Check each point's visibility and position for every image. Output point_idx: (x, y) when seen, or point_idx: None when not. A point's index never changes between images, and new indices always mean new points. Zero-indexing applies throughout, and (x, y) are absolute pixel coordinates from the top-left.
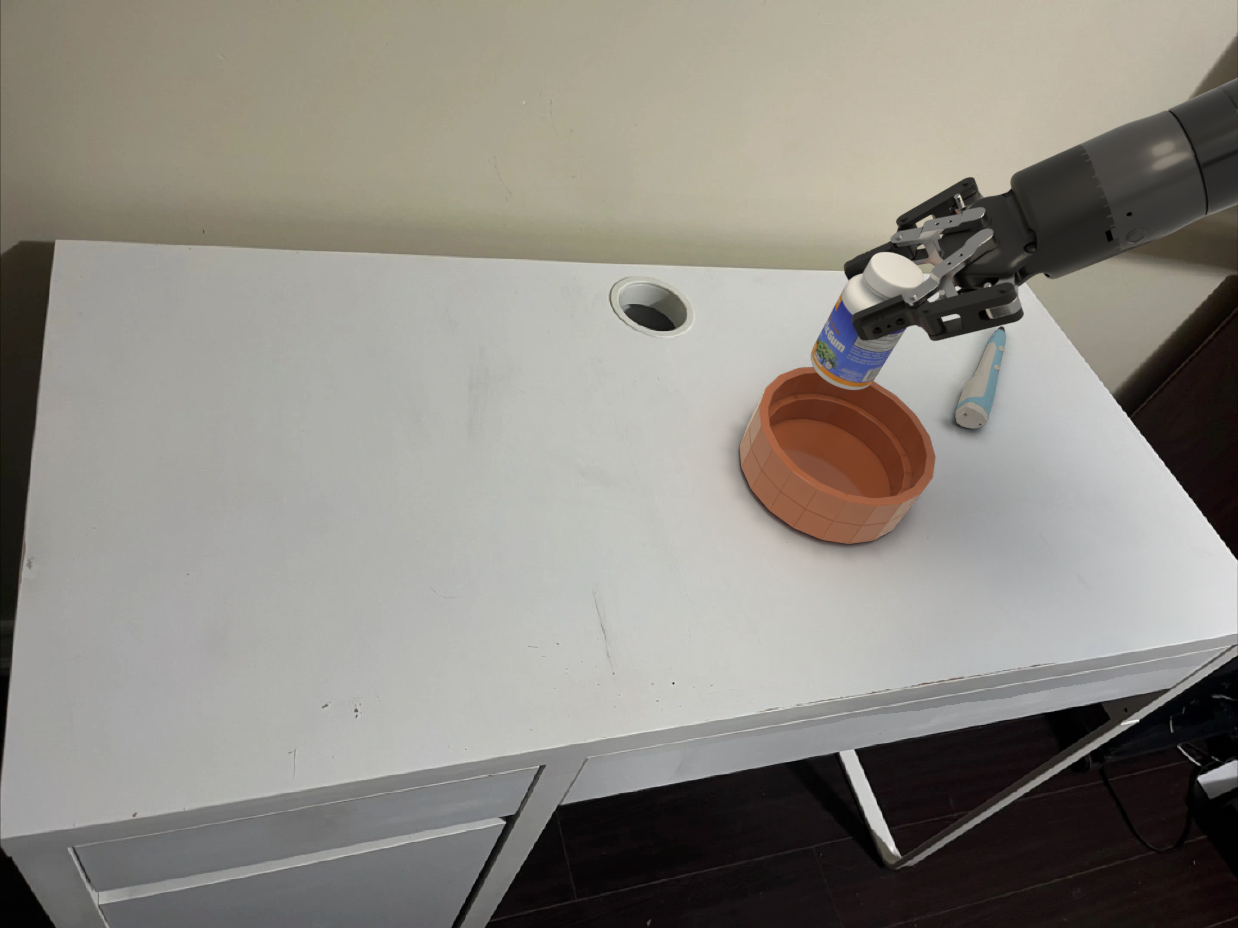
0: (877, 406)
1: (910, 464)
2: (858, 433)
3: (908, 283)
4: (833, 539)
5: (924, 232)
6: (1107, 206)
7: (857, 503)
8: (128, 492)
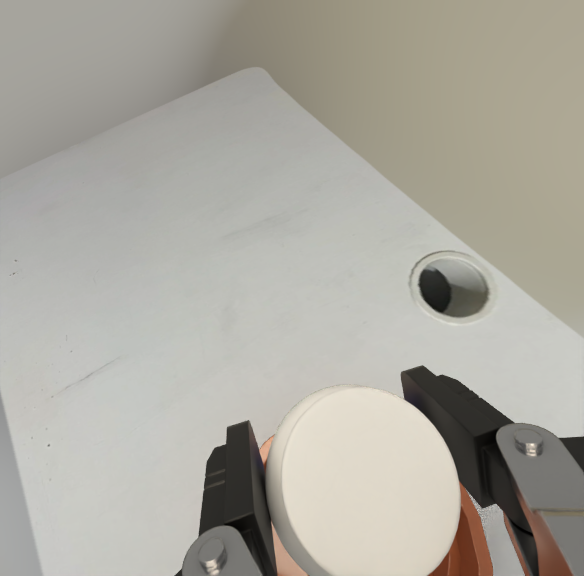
0: None
1: None
2: (436, 570)
3: (315, 528)
4: None
5: (546, 523)
6: None
7: None
8: (122, 146)
